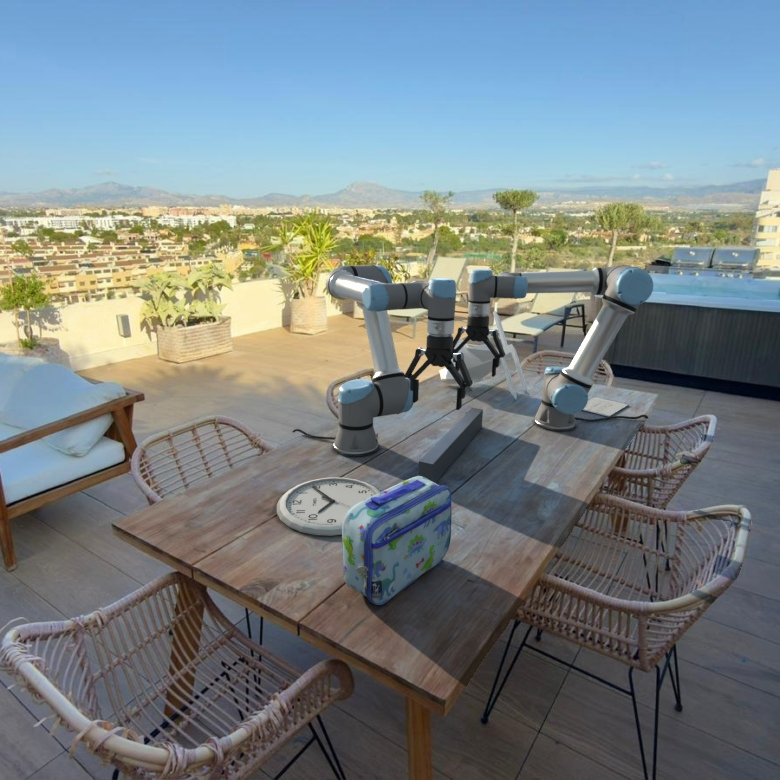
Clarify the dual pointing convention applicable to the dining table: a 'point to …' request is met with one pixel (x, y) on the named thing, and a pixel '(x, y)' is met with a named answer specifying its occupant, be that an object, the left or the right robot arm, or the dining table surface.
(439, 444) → the plank
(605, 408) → the invitation card
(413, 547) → the lunch box
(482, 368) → the white plastic object
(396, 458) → the dining table surface
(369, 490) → the wall clock
